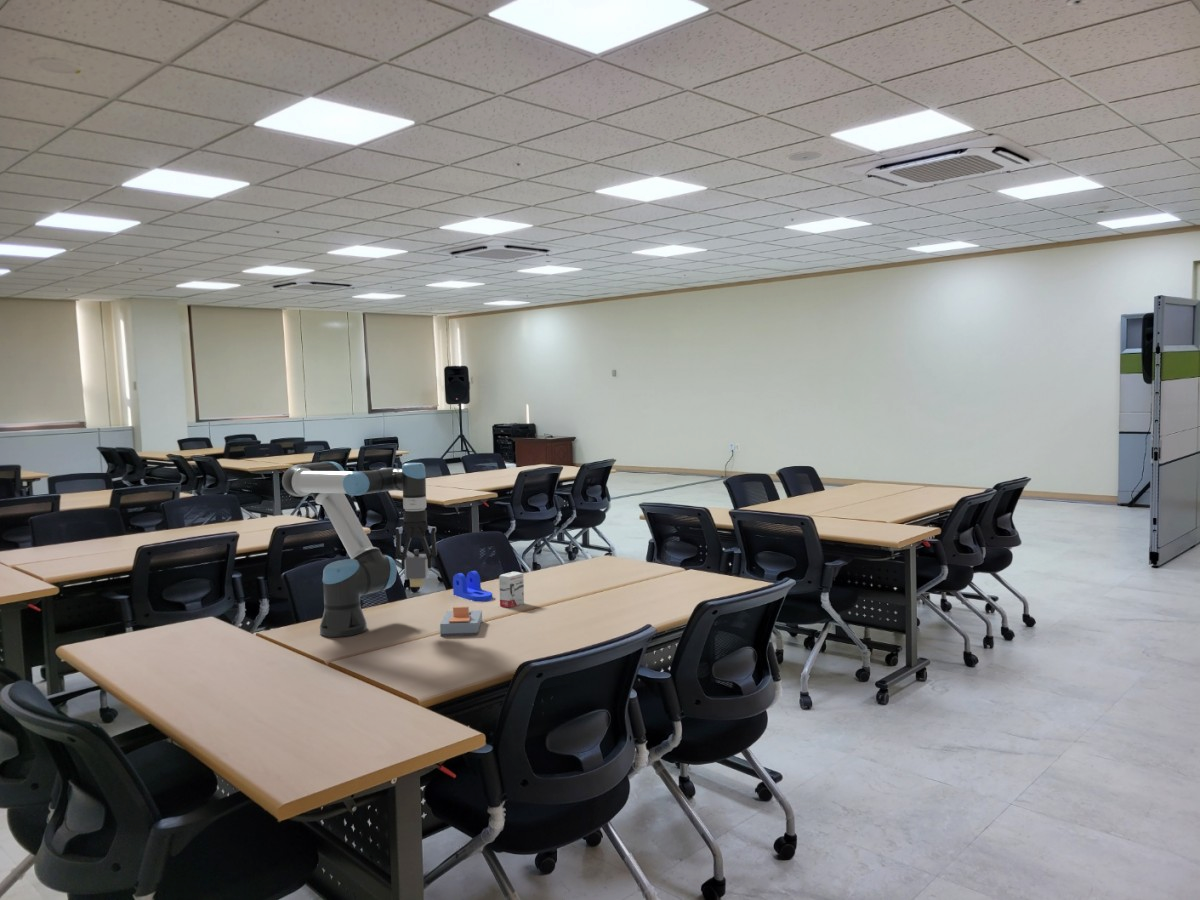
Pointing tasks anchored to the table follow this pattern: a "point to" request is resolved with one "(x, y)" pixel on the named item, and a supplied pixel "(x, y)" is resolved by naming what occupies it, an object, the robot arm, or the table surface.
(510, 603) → the ink box
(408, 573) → the plug
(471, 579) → the bracket
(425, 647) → the table surface
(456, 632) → the socket
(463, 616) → the shutter
